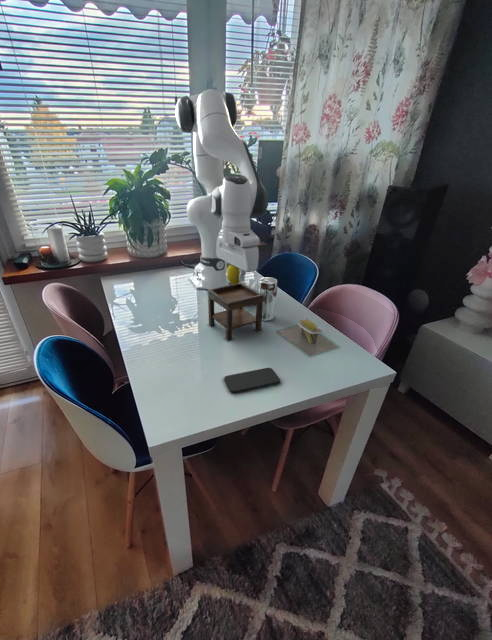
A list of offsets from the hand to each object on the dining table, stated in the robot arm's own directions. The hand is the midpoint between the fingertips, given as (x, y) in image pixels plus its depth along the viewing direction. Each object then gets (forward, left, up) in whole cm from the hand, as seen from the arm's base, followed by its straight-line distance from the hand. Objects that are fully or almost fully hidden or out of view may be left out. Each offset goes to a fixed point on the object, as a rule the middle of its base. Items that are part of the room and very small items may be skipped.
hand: (235, 277), depth 109 cm
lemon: (0, 0, -3) cm, 3 cm away
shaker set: (-15, +15, -19) cm, 29 cm away
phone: (+30, -13, -19) cm, 38 cm away
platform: (+20, +17, -19) cm, 33 cm away
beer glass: (-1, +15, -19) cm, 24 cm away
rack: (0, 0, -19) cm, 19 cm away
